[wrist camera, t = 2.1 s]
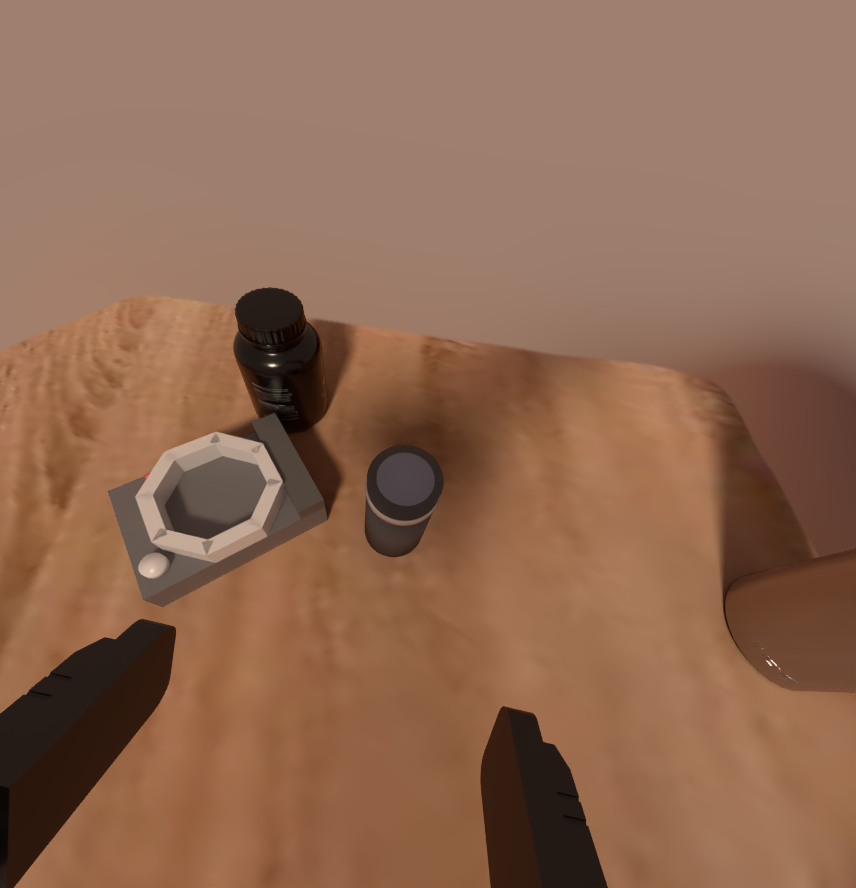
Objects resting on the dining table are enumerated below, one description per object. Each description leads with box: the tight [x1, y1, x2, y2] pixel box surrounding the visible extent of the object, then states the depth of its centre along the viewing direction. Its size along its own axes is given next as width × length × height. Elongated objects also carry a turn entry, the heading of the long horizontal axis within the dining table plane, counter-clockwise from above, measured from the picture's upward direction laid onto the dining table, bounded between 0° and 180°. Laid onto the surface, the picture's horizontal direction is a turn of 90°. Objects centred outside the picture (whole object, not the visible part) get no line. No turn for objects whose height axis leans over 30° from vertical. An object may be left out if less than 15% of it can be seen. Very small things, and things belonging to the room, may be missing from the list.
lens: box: [365, 445, 443, 557], centre depth 30 cm, size 5×5×10 cm
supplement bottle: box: [233, 288, 327, 432], centre depth 34 cm, size 7×7×12 cm
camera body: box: [108, 413, 328, 607], centre depth 31 cm, size 13×9×5 cm
